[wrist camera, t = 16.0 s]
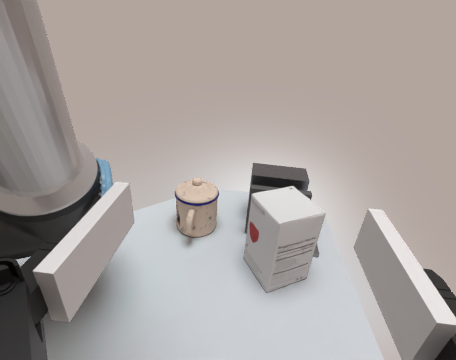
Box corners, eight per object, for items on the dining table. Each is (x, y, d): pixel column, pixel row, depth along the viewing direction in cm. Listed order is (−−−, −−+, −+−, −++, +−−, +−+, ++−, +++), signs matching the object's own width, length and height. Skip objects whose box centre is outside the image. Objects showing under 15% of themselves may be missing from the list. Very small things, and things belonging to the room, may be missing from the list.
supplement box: (241, 257, 54) (249, 192, 47) (280, 246, 58) (293, 184, 51) (265, 294, 47) (279, 223, 40) (308, 279, 51) (327, 212, 43)
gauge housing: (243, 246, 57) (249, 197, 51) (247, 206, 70) (253, 162, 64) (318, 257, 56) (332, 207, 50) (308, 213, 69) (319, 170, 63)
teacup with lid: (182, 210, 67) (181, 167, 61) (219, 215, 66) (222, 171, 60) (166, 244, 56) (163, 195, 50) (210, 250, 55) (213, 201, 50)
